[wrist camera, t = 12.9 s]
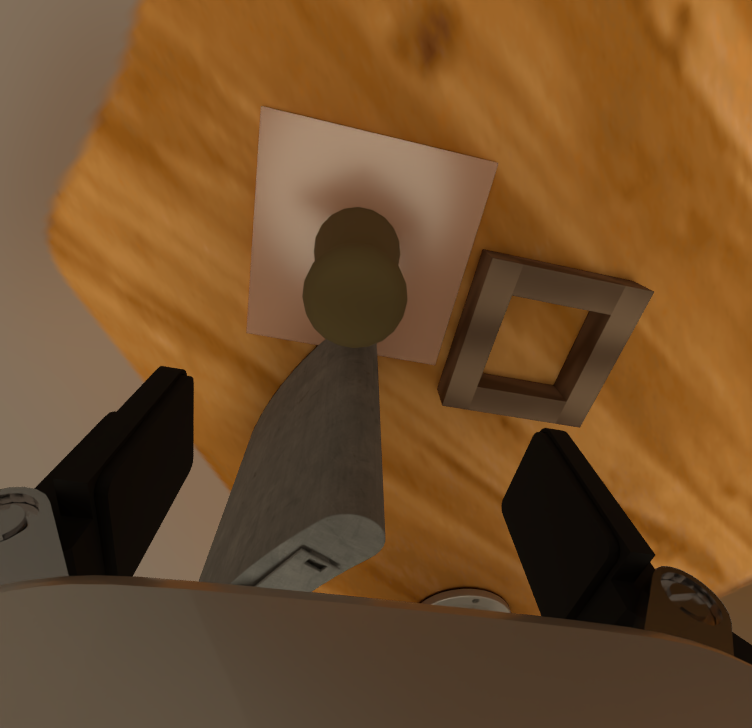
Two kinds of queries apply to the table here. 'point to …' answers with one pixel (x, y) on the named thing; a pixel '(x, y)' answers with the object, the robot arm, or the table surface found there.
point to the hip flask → (307, 479)
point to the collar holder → (585, 361)
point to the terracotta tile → (371, 191)
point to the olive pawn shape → (355, 279)
